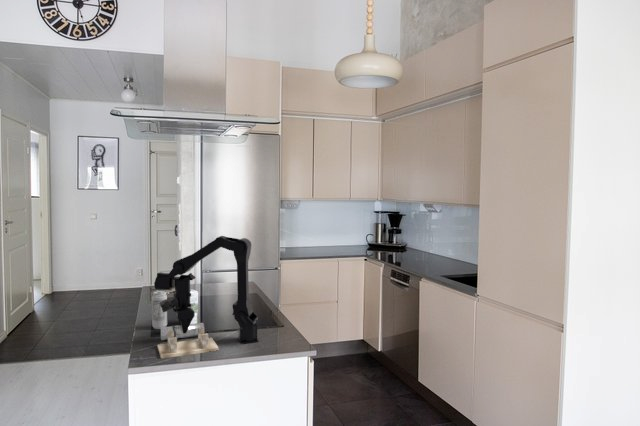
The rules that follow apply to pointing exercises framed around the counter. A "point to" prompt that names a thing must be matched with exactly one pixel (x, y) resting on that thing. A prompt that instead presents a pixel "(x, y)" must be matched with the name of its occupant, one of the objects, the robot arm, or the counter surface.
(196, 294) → the syrup box
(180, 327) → the metal tube
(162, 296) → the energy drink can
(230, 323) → the counter surface
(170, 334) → the collar stand
